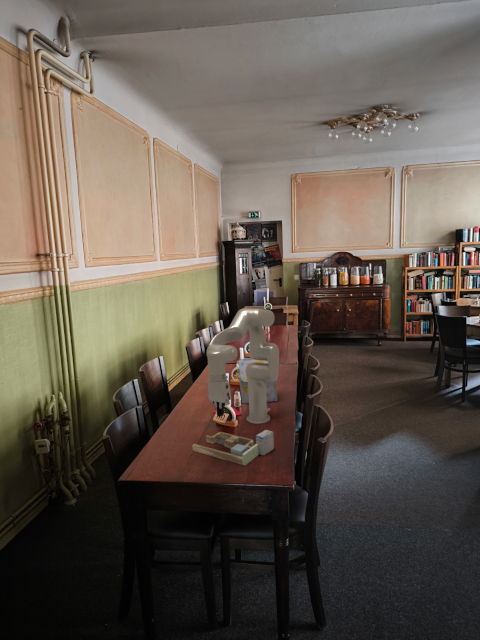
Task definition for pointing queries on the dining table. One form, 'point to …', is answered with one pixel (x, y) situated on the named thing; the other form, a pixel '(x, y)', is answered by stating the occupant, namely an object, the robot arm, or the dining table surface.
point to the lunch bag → (270, 386)
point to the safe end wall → (250, 454)
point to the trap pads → (221, 441)
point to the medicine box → (265, 442)
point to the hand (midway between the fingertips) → (220, 415)
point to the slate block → (239, 449)
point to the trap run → (229, 443)
